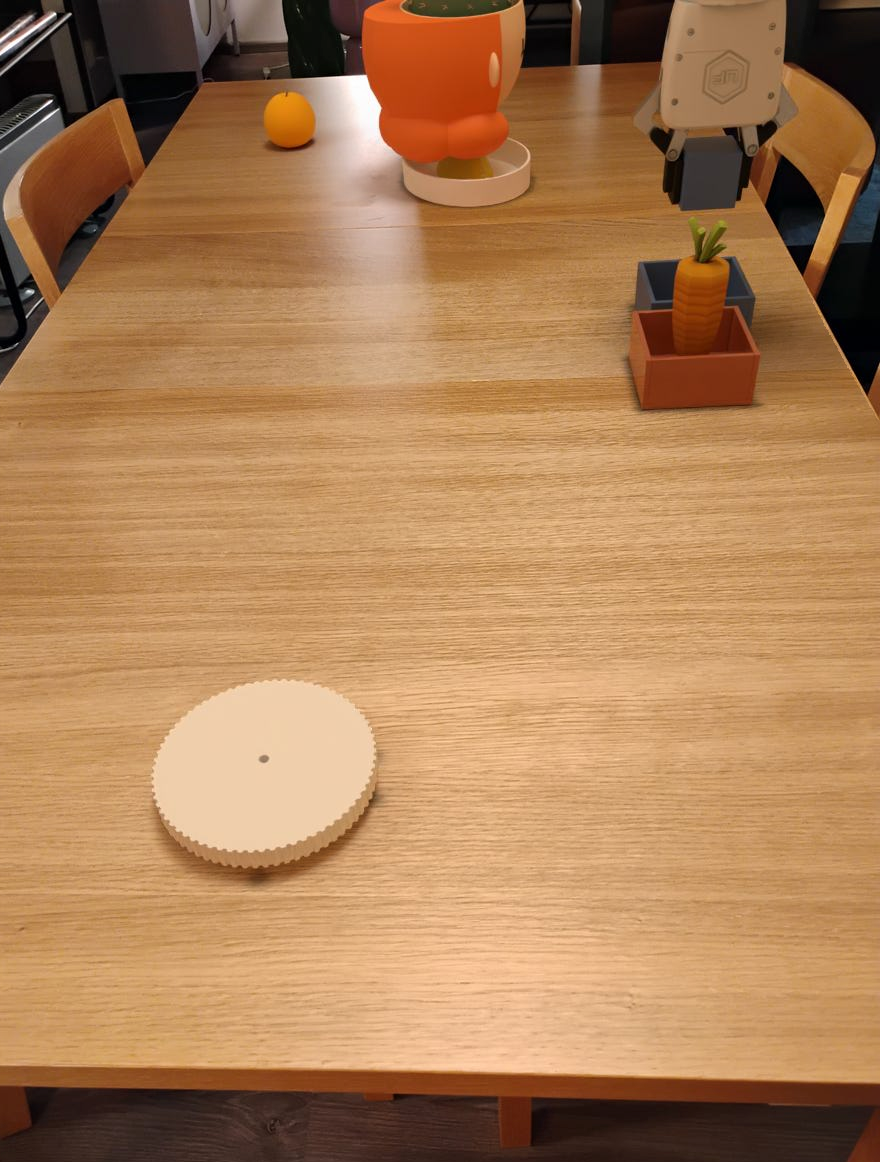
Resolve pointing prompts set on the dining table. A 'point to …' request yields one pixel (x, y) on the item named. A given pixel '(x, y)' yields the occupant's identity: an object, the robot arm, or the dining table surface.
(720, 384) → the terracotta bin
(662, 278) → the blue bin
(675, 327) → the carrot
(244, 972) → the dining table surface
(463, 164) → the potted cactus
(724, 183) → the block
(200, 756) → the beige gear wheel
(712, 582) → the dining table surface
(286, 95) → the orange
